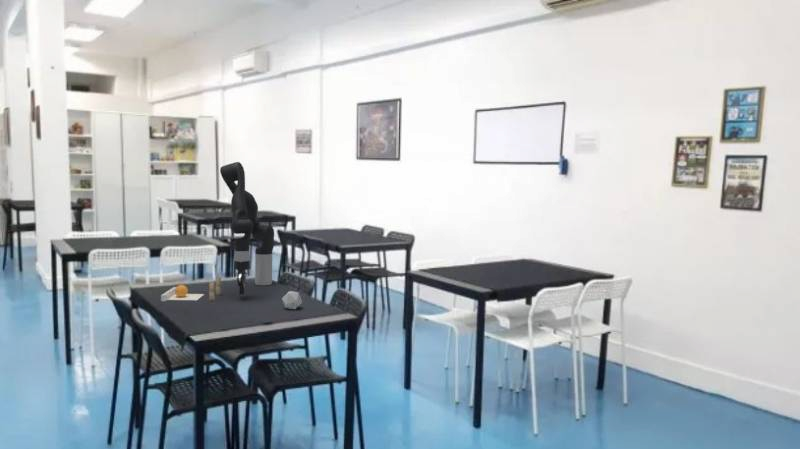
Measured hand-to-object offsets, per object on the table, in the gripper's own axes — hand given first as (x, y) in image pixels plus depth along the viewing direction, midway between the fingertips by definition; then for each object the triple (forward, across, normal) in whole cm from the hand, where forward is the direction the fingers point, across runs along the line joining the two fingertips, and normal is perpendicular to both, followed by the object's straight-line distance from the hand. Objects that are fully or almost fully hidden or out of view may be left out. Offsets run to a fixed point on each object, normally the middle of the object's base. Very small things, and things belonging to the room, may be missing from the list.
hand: (241, 294), depth 298 cm
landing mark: (+2, -1, -27) cm, 27 cm away
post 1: (+2, +6, -13) cm, 15 cm away
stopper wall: (+2, -1, -35) cm, 35 cm away
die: (+2, +20, +27) cm, 33 cm away
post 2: (+2, -8, -13) cm, 15 cm away
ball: (-1, -1, -30) cm, 30 cm away
